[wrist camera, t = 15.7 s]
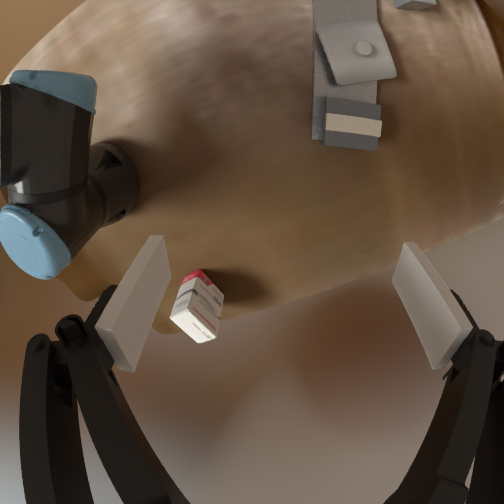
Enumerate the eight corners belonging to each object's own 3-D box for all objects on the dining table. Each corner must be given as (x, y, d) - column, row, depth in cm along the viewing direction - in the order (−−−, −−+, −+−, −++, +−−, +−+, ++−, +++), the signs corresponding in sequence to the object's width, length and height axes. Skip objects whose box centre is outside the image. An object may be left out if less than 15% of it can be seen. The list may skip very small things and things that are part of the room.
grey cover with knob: (372, 23, 27) (382, 14, 22) (392, 78, 31) (405, 76, 27) (313, 31, 29) (316, 22, 25) (334, 87, 34) (341, 86, 29)
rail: (310, 137, 40) (317, 145, 34) (310, -51, 20) (316, -68, 15) (368, 144, 40) (384, 153, 34) (368, -39, 20) (382, -53, 15)
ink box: (182, 277, 56) (167, 318, 46) (200, 267, 54) (187, 309, 45) (207, 303, 60) (198, 345, 50) (225, 295, 58) (218, 338, 48)
